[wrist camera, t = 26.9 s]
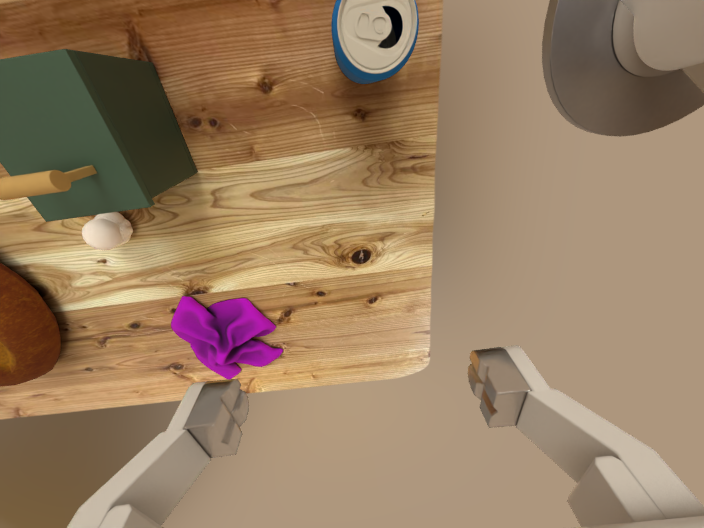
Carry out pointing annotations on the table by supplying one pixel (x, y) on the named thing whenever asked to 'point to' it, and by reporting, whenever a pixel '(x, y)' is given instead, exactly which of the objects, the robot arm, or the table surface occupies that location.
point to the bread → (25, 331)
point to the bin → (141, 118)
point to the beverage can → (373, 37)
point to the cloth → (225, 334)
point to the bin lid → (62, 141)
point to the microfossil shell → (107, 231)
